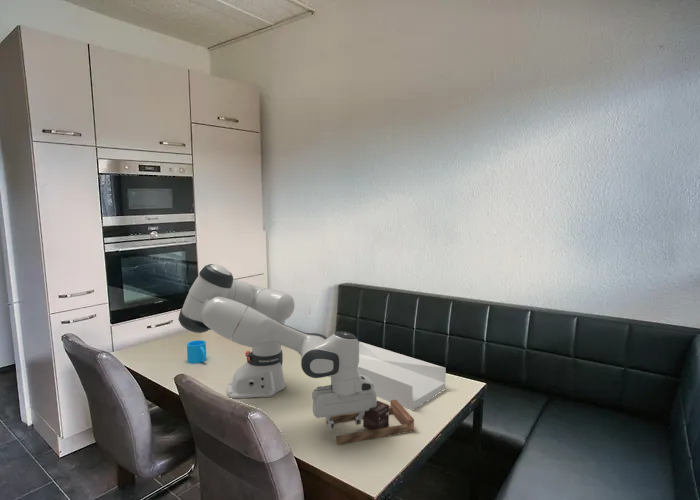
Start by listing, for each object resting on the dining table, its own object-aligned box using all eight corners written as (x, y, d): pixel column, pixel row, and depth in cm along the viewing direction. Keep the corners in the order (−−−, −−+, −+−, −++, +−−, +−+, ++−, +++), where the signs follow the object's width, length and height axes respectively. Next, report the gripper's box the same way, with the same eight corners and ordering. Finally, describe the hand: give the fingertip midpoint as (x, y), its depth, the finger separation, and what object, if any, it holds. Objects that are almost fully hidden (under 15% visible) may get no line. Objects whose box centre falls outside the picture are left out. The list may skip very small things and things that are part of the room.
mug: (184, 360, 188) (183, 343, 187) (201, 355, 194) (200, 339, 193) (196, 367, 180) (196, 349, 179) (213, 362, 186) (213, 344, 185)
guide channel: (337, 445, 122) (337, 432, 121) (325, 421, 135) (325, 409, 134) (413, 431, 129) (414, 419, 129) (395, 410, 142) (395, 399, 142)
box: (377, 434, 127) (377, 411, 127) (362, 427, 131) (362, 405, 131) (389, 426, 132) (389, 404, 131) (374, 420, 136) (374, 398, 135)
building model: (445, 391, 158) (445, 367, 157) (412, 412, 142) (412, 385, 141) (358, 361, 189) (358, 341, 188) (323, 375, 173) (323, 353, 172)
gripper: (314, 392, 122) (314, 436, 123) (378, 383, 128) (378, 426, 129) (310, 383, 128) (310, 425, 129) (371, 376, 134) (371, 416, 135)
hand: (344, 425), depth 129 cm, fingers open, 7 cm apart
